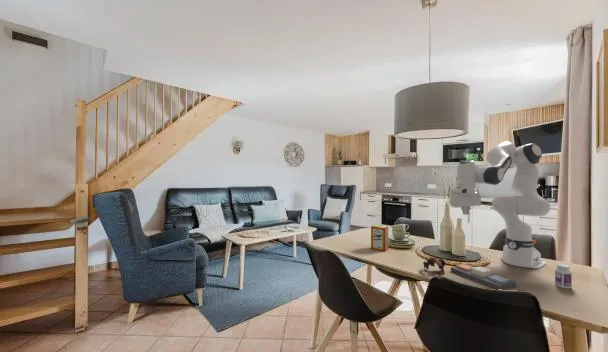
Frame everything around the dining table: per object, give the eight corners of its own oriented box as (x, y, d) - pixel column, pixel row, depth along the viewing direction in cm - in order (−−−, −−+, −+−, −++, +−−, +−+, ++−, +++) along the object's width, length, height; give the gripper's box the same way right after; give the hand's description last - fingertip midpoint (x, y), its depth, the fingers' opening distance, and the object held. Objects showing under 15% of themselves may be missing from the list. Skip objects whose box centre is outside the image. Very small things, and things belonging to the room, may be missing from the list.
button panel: (466, 268, 140) (466, 264, 140) (516, 286, 118) (516, 281, 118) (450, 271, 136) (450, 267, 136) (499, 290, 114) (499, 286, 114)
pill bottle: (570, 286, 118) (571, 265, 118) (572, 290, 114) (572, 268, 114) (554, 282, 122) (554, 262, 122) (555, 286, 118) (555, 265, 118)
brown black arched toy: (439, 278, 129) (430, 262, 131) (425, 279, 137) (417, 264, 139) (453, 268, 134) (444, 253, 136) (440, 270, 142) (431, 255, 144)
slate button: (496, 281, 123) (496, 275, 123) (509, 286, 118) (509, 279, 118) (488, 283, 121) (488, 276, 121) (501, 288, 116) (501, 281, 116)
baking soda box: (388, 249, 175) (388, 226, 175) (384, 251, 170) (384, 227, 169) (374, 246, 181) (374, 224, 180) (371, 249, 175) (371, 225, 175)
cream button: (479, 272, 131) (479, 266, 131) (491, 276, 125) (491, 270, 125) (471, 273, 129) (471, 267, 129) (483, 278, 123) (483, 272, 123)
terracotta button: (464, 269, 138) (464, 264, 138) (475, 273, 133) (475, 267, 133) (456, 271, 136) (456, 265, 136) (467, 275, 131) (467, 269, 131)
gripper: (473, 188, 149) (473, 212, 149) (448, 189, 142) (447, 214, 142) (484, 189, 143) (484, 214, 144) (458, 190, 136) (458, 216, 136)
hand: (465, 214), depth 143 cm, fingers closed
